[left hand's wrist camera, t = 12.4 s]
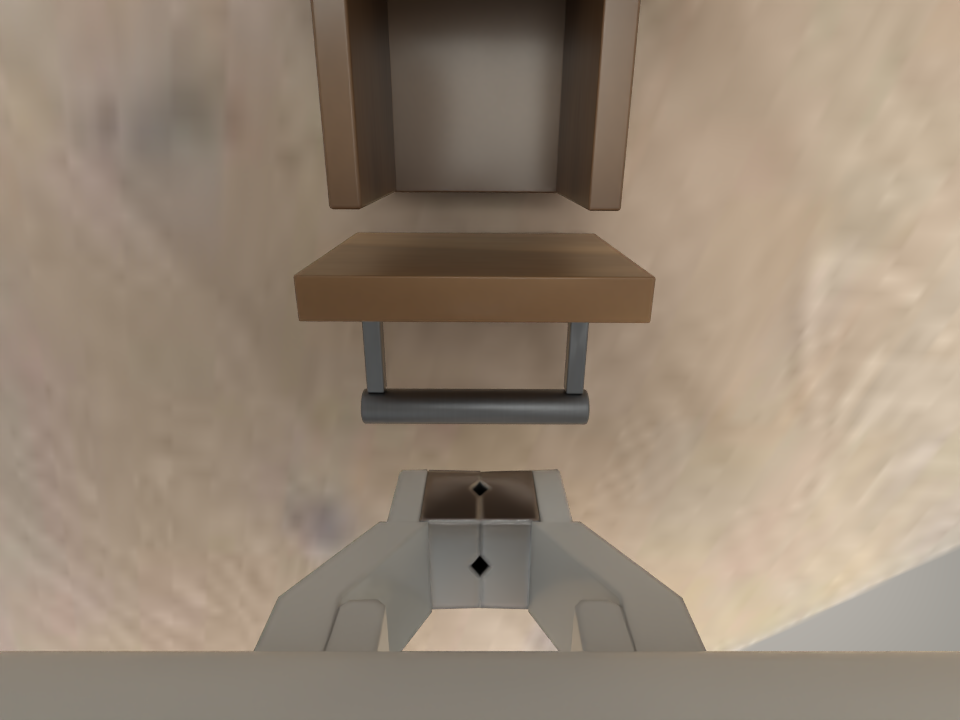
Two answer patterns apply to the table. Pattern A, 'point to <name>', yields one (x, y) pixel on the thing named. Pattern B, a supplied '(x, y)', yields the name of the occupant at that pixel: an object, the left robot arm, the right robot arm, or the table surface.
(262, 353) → the table surface
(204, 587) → the table surface
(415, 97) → the drawer
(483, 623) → the table surface
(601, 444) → the table surface
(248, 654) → the left robot arm
